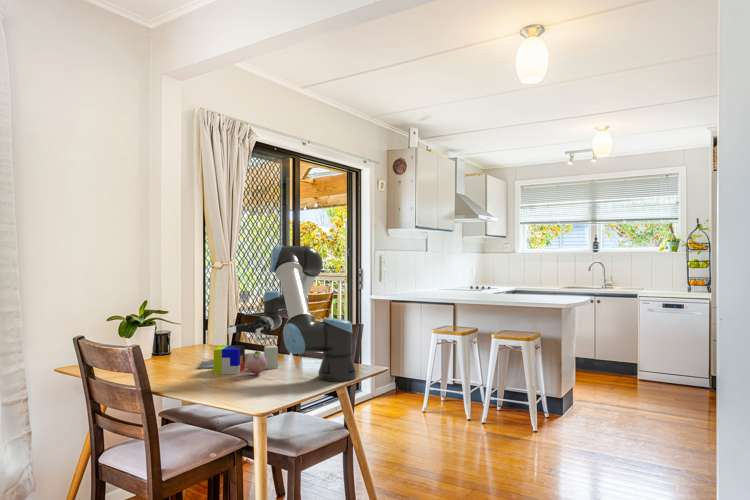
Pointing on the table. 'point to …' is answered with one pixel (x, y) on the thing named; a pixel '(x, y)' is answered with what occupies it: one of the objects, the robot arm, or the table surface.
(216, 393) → the table surface
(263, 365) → the decorative fruit
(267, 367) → the sage block
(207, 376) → the table surface
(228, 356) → the puzzle toy
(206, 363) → the mat
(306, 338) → the robot arm
